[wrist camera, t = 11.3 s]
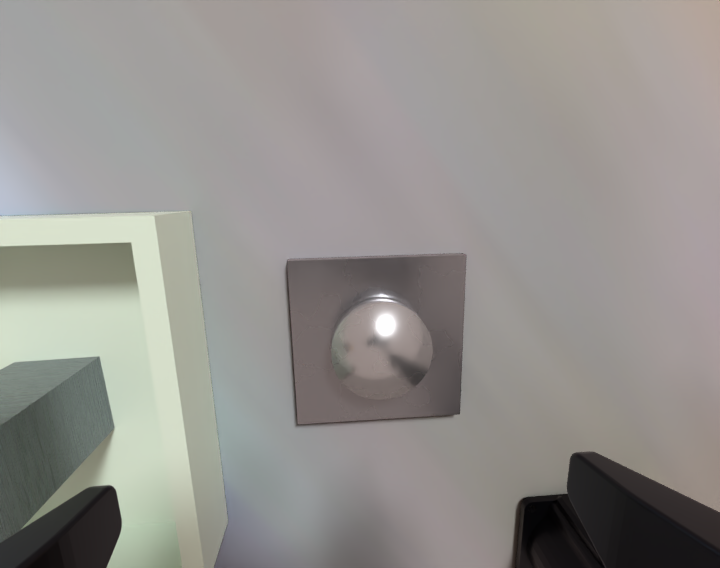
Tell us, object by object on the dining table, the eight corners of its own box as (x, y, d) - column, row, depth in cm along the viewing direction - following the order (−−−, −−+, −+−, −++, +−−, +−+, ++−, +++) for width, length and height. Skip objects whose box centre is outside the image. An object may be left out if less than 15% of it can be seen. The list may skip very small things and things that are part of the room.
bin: (228, 521, 23) (207, 588, 19) (-25, 540, 22) (-102, 616, 18) (191, 211, 19) (153, 215, 15) (-122, 218, 18) (-250, 225, 14)
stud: (456, 408, 22) (468, 429, 20) (298, 418, 22) (295, 440, 20) (462, 253, 20) (476, 259, 18) (288, 259, 19) (283, 266, 18)
